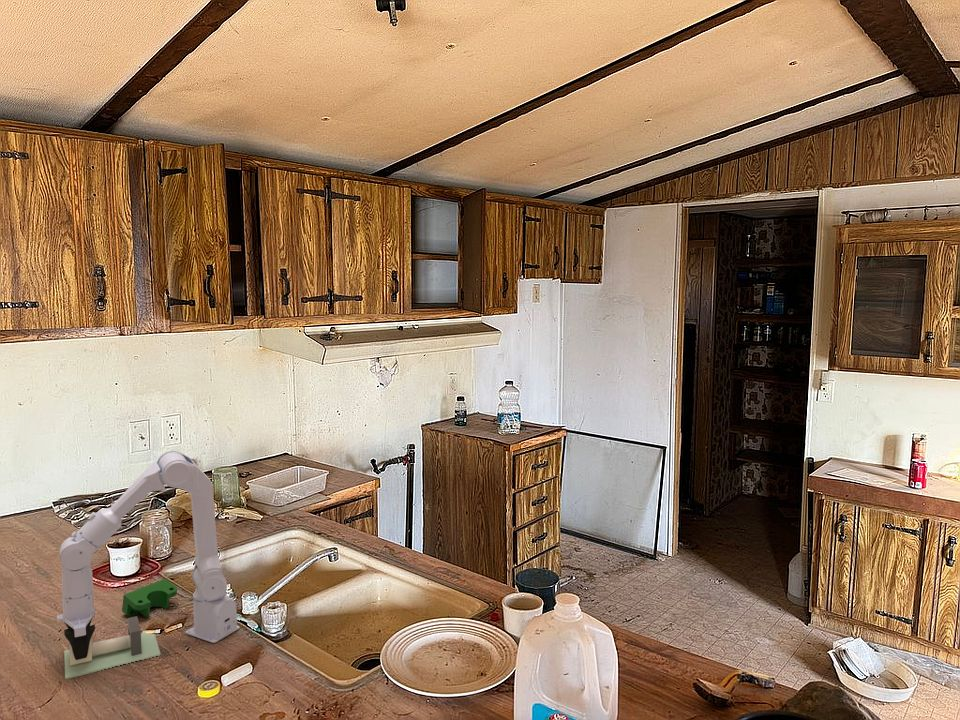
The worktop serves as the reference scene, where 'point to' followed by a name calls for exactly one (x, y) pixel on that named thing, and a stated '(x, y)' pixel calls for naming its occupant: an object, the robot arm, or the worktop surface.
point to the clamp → (148, 598)
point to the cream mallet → (102, 648)
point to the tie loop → (134, 635)
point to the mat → (112, 658)
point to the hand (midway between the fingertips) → (80, 653)
